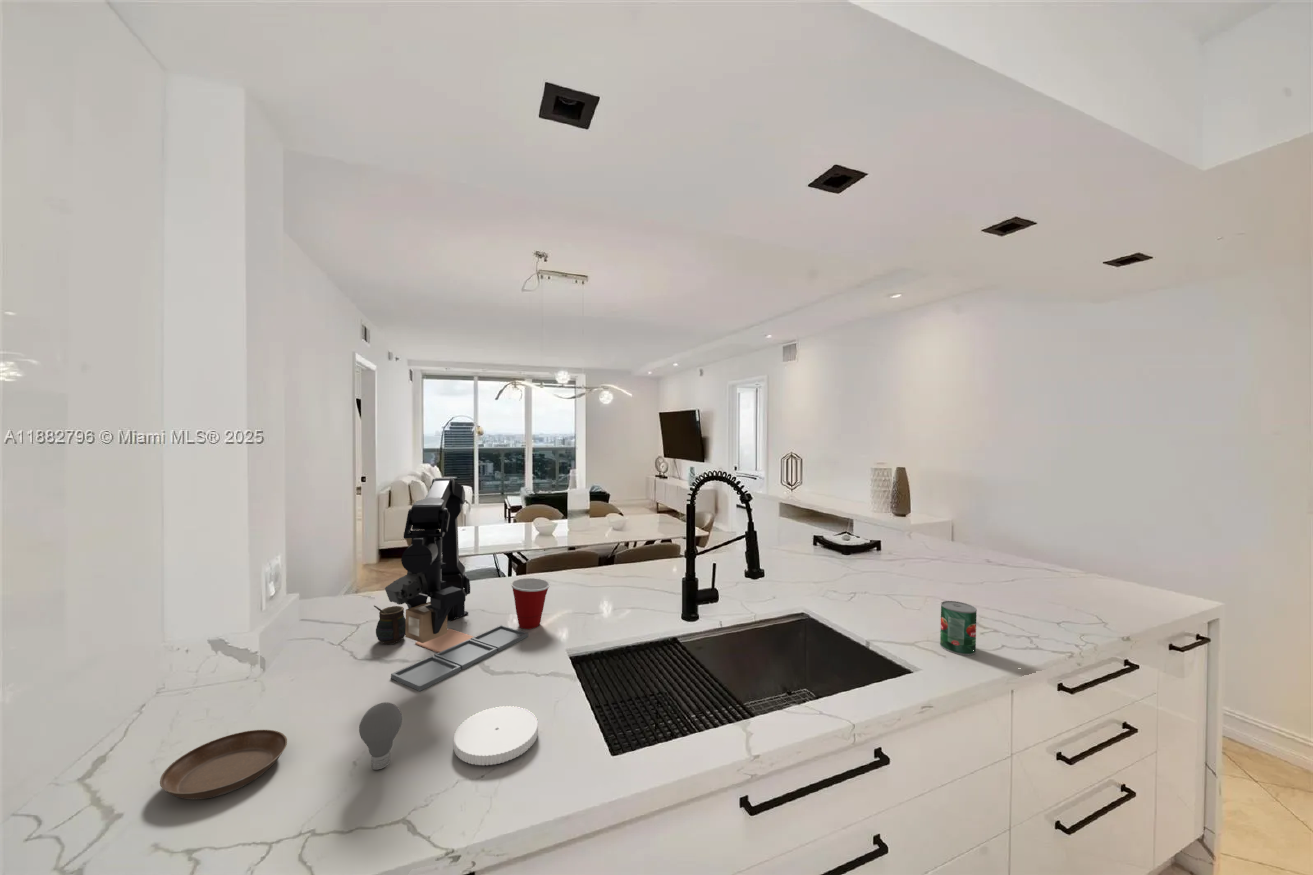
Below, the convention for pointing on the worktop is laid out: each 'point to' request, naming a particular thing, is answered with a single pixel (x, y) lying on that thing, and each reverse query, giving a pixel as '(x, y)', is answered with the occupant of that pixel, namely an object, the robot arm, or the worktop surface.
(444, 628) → the cardboard box
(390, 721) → the light bulb
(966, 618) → the canned tomato
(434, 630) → the robot arm
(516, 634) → the tray
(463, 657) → the tray
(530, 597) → the plastic cup
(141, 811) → the worktop surface
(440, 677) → the tray
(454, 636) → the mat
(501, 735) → the plastic lid
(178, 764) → the saucer
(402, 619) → the mate gourd
